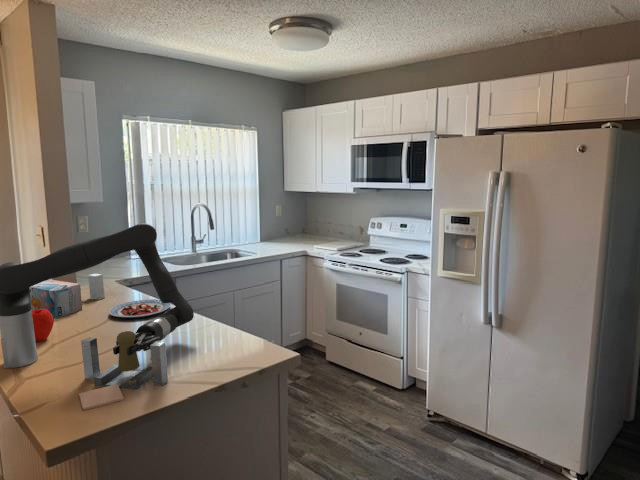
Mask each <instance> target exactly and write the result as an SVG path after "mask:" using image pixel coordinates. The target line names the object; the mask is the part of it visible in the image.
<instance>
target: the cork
mask: <svg viewBox="0 0 640 480" xmlns="http://www.w3.org/2000/svg"><path fill="white" fill-rule="evenodd" d="M135 339H136V337H135V332H133V331H131V330H129V331H128V330H126V331H122V332H119V333H118V334H117V336H116V341H117V342H118V344H119V353H118V363H117V364H118V370H119V371H122V372H127V371H136V370H137V369H139V367H140V362H139V356H138V354H137V353H138V352H136V353H134V354H132V355H131V356H128V355H127V349H128V348H129V347H131V346H133V345H134V341H135Z"/></svg>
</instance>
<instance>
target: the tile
mask: <svg viewBox="0 0 640 480" xmlns="http://www.w3.org/2000/svg"><path fill="white" fill-rule="evenodd" d="M78 394H79V400H80V404H81V407H82V411H87V410H90V409H95V408H98V407H102V406H105V405H110V404H113V403H117V402H121V401H124V400H125V397H124V395H123V393H122V391H121V388H119V386H118V384H115V385H111V386H107V387H104V386H102V387H100V388H96V389H91V390H88V391H84V392H80V393H78Z"/></svg>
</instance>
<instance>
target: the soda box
mask: <svg viewBox="0 0 640 480" xmlns="http://www.w3.org/2000/svg"><path fill="white" fill-rule="evenodd" d="M29 289H30V297H31V308H32V310H35V309H47V310H48V311H50V313H51V314H52V317H53V319H58V318H61V317H64V316H65V317H66V316H68V315H71V314H75V313H76V312H81V311H82V310H83V304H82V303H83V302H82V301H83V300H82V293H81V292H82V288H81V284H80V283H78V282H77V283H75V282H70V281H62V280H57V279H56V280H55V279H49V280H46V281H43V282H41V283H38V284H36V285H33V286H31V287H29Z"/></svg>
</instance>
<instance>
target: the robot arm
mask: <svg viewBox="0 0 640 480" xmlns="http://www.w3.org/2000/svg"><path fill="white" fill-rule="evenodd" d="M157 235H158V234H157V230H156V229H155V227H154V226H153V225H150V224H148V223H137V224H135V225H133V226H130V227H128V228H126V229H122V230H121V231H118V232H115V233H112V234H109V235H104V236H100V237H95V238H92V239H87V240H84V241H81V242H77V243H73V244H71V245H67V246H65V247H63V248H60V249H58V250H56V251H54V252H51V253H50V254H48V255H46V256H44V257H41V258H39V259H35V260H32V261H27V262H24V263H18V262H13V261H12V262H5V263H3V264H1V265H0V344H1V352H2V353H1V354H2V359H3V367H4V369H8V368H11V369H12V368H13V369H14V368H21V367H26V366H28V365H31V364H34V363H36V362H37V360H38V351H37V343H36V341H35V333H34V325H33V317H32V308H31V297H30V289H29V287H31V286H33V285H36V284H38V283H41V282H43V281H46V280H49V279H50V280H54V279H56V278H60V277H64V276H66V275H71V274H75V273H78V272H81V271H84V270H87V269H90V268H93V267H95V266H98V265H101V264H102V263H104V262H106V261H108V260H111V259H112V258H114V257H116V256H119V255H121V254H123V253H124V254H125V253H127V252H130V251H135V253H136V254H137V256H138V257H139V259H140V260H141V262H142V264H143V265H144V267H145V269H146V271H147V274H148V276H149V278H150V281H151V283H152V284H153V285H152V286H153V287H154V289H155V291H156V294H157V296H158V297H159V300H161V302H162V303H171V304H173V305H174V307H172V308H171V309H170V308H169V309H167V310H165V311H164V312H163V314H161V315H159V316H156V318H153V319H150V320H148V321H147V322H145V323H143V324H142V325H140V326H139V327H138V328H137V329H136V331H135V332H134V334H135V337H136V339H135V341H134V345H133V346H131V347H129V348H128V349H127V355H128V356H131V355H132V354H134V353H138V352H141V351H143V352H147V351H149V350H150V345H152V344H153V343H155V342H162V340H164V339H165V338H166V337H168V335H170V334H172V333H173V332H174V331H175V330H176V329H177V328H178V327H181V326H183V325H184V324H188V323H190V322H191V321H192V320H193V319H194V317H195V316H194V315H195V312H194V309H193V307H192V305H191V304H190V303H189V302H188V301H187V300H186V298H185V297H184V296H183V295H182V294H181V292H180V291H179V289H178V286H177V285H176V282H175V280H174V278H173V276H172V275H171V273H170V271H169V270H168V268H167V267H166V266H165V264H164V262H163V261H162V258H161V257H160V254H159V252H158V249H157V245H156V242H157V237H158V236H157ZM112 351H113V355H115V356H117V355H119V344H118V342H117V340H116V341H115V346H114V347H113V348H112Z"/></svg>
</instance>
